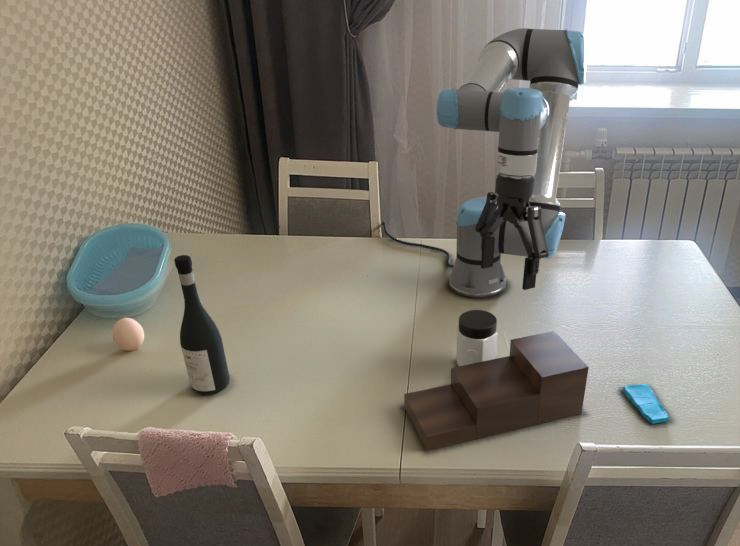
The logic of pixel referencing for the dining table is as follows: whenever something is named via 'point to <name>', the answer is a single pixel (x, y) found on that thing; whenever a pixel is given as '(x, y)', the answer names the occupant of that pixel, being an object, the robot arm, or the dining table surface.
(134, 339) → the egg
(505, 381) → the step shelf
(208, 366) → the wine bottle
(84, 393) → the dining table surface
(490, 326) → the jar
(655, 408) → the sponge
